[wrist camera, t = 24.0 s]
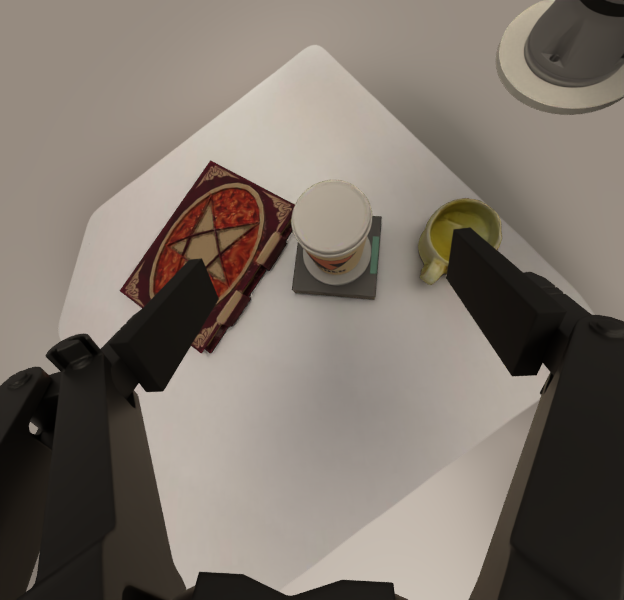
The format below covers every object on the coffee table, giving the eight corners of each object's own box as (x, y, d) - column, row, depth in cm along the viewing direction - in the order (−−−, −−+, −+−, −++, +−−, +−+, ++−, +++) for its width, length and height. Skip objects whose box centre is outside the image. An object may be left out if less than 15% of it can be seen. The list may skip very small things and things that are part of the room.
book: (217, 170, 53) (202, 152, 48) (306, 218, 48) (300, 202, 43) (132, 293, 51) (108, 286, 46) (215, 356, 46) (198, 356, 41)
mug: (444, 194, 43) (477, 178, 33) (486, 242, 43) (530, 240, 34) (384, 248, 45) (398, 249, 35) (425, 293, 46) (449, 306, 36)
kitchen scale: (380, 223, 45) (382, 213, 42) (374, 299, 43) (375, 295, 40) (304, 220, 48) (300, 211, 44) (295, 292, 46) (290, 288, 42)
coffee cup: (298, 268, 43) (277, 238, 31) (320, 216, 44) (308, 167, 32) (353, 289, 41) (353, 266, 29) (376, 234, 42) (385, 189, 30)
